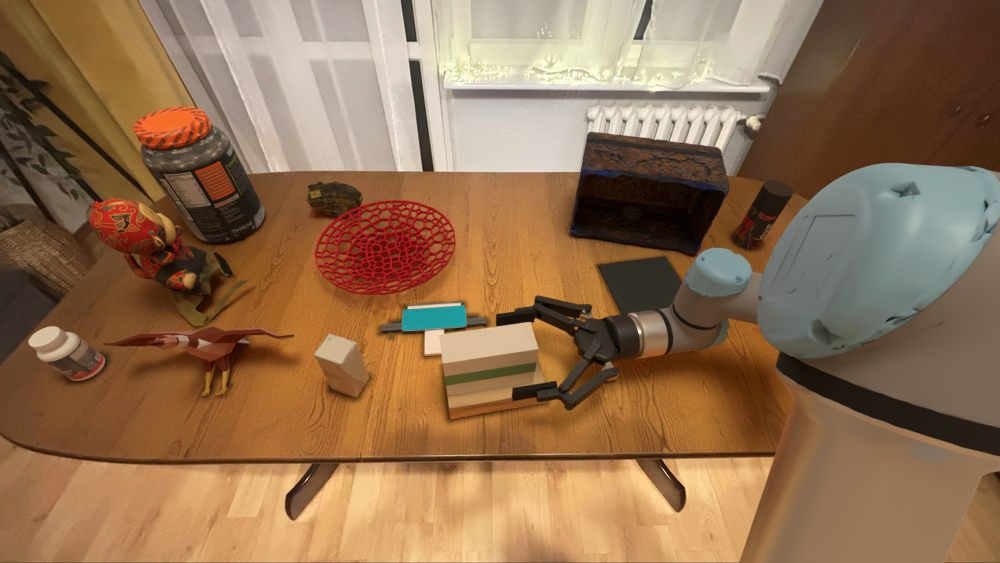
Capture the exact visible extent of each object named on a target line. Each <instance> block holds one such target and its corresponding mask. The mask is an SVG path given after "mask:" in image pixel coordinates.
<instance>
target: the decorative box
mask: <svg viewBox="0 0 1000 563" xmlns="http://www.w3.org/2000/svg"><path fill="white" fill-rule="evenodd" d="M729 193H730V182H729V176H728V175H727V169H726V166H725V161H724V157H723V153H722V149H721V148H719V147H717V146H712V145H706V144H705V145H703V144H696V143H690V142H689V143H688V142H680V141H679V142H678V141H671V140H668V139H659V138H658V139H654V138H651V137H642V136H634V135H633V136H632V135H625V134H613V133H609V132H598V131H591V130H590V131H589V132H587V134H586V138H585V144H584V149H583V154H582V160H581V166H580V171H579V177H578V182H577V188H576V192H575V199H574V204H573V205H574V206H573V210H572V218H571V223H570V229H569V233H570V235H571V236H576V237H589V238H593V239H599V240H604V241H611V242H612V241H613V242H617V243H623V244H633V245H640V246H645V247H652V248H659V249H670V250H671V249H674V250H679V251H682V252H684V253H686V254H687V255H695V254H696V255H698V252H700V250H701V249H702V243H703V241H704V239H705V237H706V236H707V234H708V231H709V230H710V228H712V225H713V223H714V221H715V220H716V217H717V215H718V214H719V212H720V210H721V208H722V206H723V204H724V201H725V200H726V198H727V196H728V194H729Z"/></svg>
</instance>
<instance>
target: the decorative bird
mask: <svg viewBox="0 0 1000 563" xmlns="http://www.w3.org/2000/svg"><path fill="white" fill-rule="evenodd" d="M248 336H268V337H271V338H273V339H276V340H279V341H284V340H288V339H293V338H295V334H293V333H292V334H285V335H279V334H278V333H276V332H274V331H272V330H269V329H267V328H265V327H247V328H233V329H228V330H227V329H226V330H224V329H221V328H219V327H216V326H214V325H212V326H210V327H207V328H204V329H201V330H198V331H195V330H194V331H193V330H192V331H191V330H177V331H175V330H174V331H173V330H172V331H157V332H147V333H138V334H135V335H132V336H130V337H127V338H124V339H121V340H119V341H115V342H103V343H102V344H103V345H104V346H111V347H122V348H123V347H124V348H125V347H156V348H157V349H160V350H162V351H163V350H164V351H165V350H170V349H172V348H182V349H184V350H186V352H187V353H188V354H189V355H192V356H194V357H197V358H200V359H201V362H202V364H203V368H204V371H205V390H204V391H203V392H202V393H201V394H200V397H206V396H207V397H209V395H210V392H211V387H210V386H211V383H212V380H213V376H214V373H215V365H217V366H218V368H219V369H220V370H221V372H222V389H221V390H220V391H218V392H217V393H216V394H215V396H218V395H219V397H220V396H222V394H223V396H225V395H226V394H225V393H226V392H227V390H228V388H229V386H227V383H228V380H229V376H230V371H231V367H230V353H232V352H233V350H234V347H235V346H236V345H250V341H249V340H248V339H245V338H246V337H248Z"/></svg>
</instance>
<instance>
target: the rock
mask: <svg viewBox="0 0 1000 563" xmlns="http://www.w3.org/2000/svg"><path fill="white" fill-rule="evenodd" d="M307 188H308V190H307V191H308V193H307V199H306V202H307V203H308V204H309V206H310V207H311V209H312V208H313V209H316V210H317V211H318V212H319V214H321V215H322V216H324V215H325V216H328V215H330V216H332V217H333V216H334V217H337V218H338V217H340V216H341V215H343V214H345V213H346V212H348V211H350V210H353V209H355V208H357V207H360V206H362V205H363V202H364V196H363V195H362V192H361V191H360V190H358V188H356V187H354V186H352V185H350V184H348V183H344V182H339V181H337V180H336V181H333V182H327V183H325V182H324V181H321V180H319V181H317V182H316V183H313V184H312V183H311V184H308V186H307ZM357 213H359V210H358V211H356V212H354V213H351V216H353V215H355V214H357ZM349 217H350V216H349V215H348V216H346V218H349Z"/></svg>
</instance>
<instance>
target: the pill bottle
mask: <svg viewBox="0 0 1000 563" xmlns="http://www.w3.org/2000/svg"><path fill="white" fill-rule="evenodd" d="M27 344H28V345H29V346H30V347H31V348H32V349H34V350H35V351H36V356H37V358H38V359H39V360H40V361H42V362H43V363H45V364H46V365H48V366H50V367H52V369H54V370H55V371H57V372H59V373H60V374H61V375H63V376H65V377H66V378H68V379H69V380H70V381H74V382H80V381H86V380H88V379H91V378H92V377H94V376H95V375H97V374H98V373H100V372H101V370H102V369H104V366H105V364H106V358H105V356H104V355H103V354H102V353H100V352H99V351H98V350H97V349H96V348H94V347H93V346H91V345H90V344H89V342H87V341H86V340H84V339H83V338H81V336H79V335H78V334H76V333H74V332H71V331H64V330H63V329H62V328H60V327H58V326H54V325H51V326H46V327H43V328H41V329H39V330H37V331H36V332H33V334H32V335H31V336H30V337H29V339H28V343H27Z"/></svg>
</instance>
